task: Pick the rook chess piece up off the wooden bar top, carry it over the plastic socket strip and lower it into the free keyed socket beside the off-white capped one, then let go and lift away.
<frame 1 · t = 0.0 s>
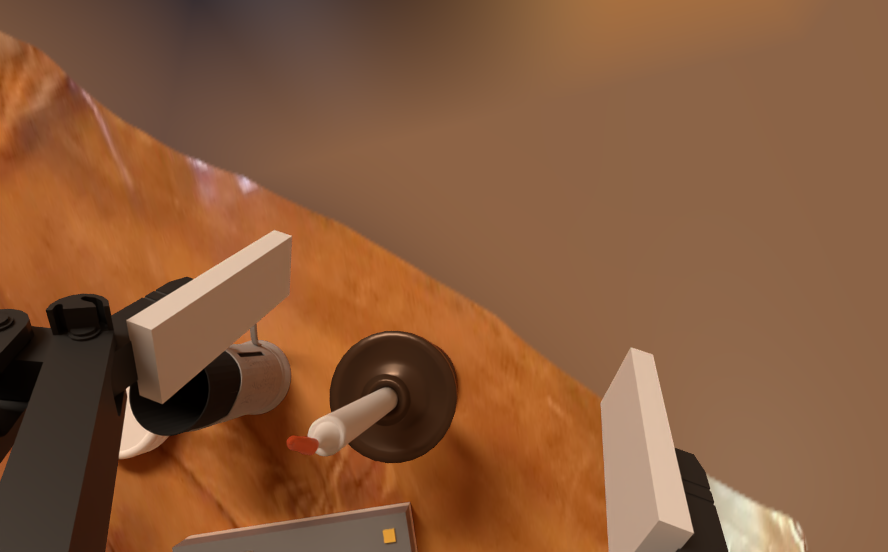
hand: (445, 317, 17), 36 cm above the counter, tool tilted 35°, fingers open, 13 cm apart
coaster: (143, 409, 55), on the counter
candlestick: (417, 380, 52), on the counter
glass holder: (264, 354, 54), on the counter
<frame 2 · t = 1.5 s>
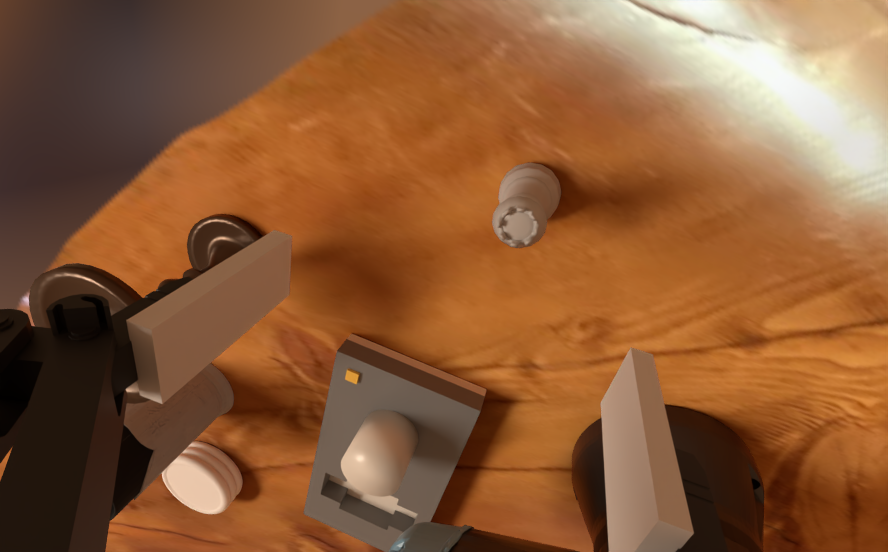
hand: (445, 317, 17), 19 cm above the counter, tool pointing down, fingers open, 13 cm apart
rook chess piece: (530, 190, 33), on the counter
socket strip: (389, 448, 49), on the counter
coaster: (213, 465, 61), on the counter
candlestick: (236, 258, 44), on the counter
glass holder: (184, 369, 53), on the counter
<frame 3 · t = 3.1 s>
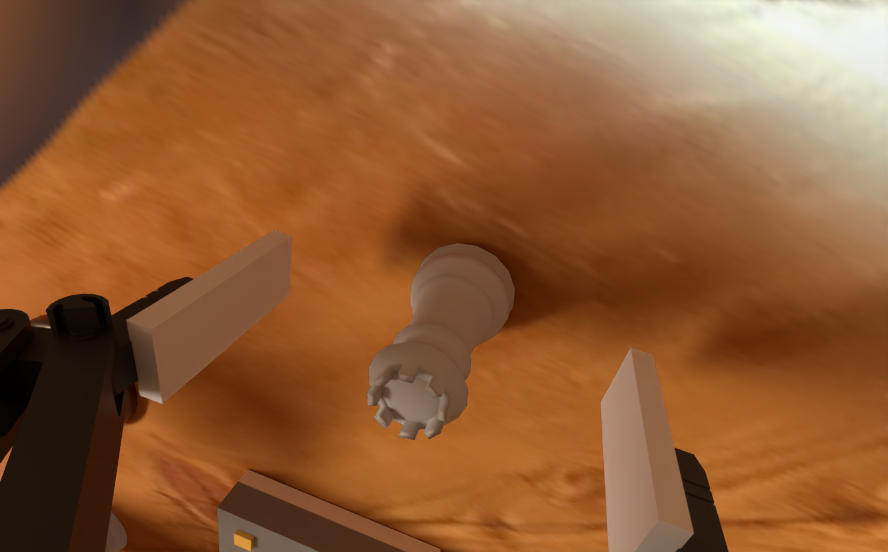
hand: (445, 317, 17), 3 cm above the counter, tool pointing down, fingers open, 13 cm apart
rook chess piece: (467, 283, 20), on the counter
candlestick: (83, 370, 31), on the counter
glass holder: (63, 496, 41), on the counter
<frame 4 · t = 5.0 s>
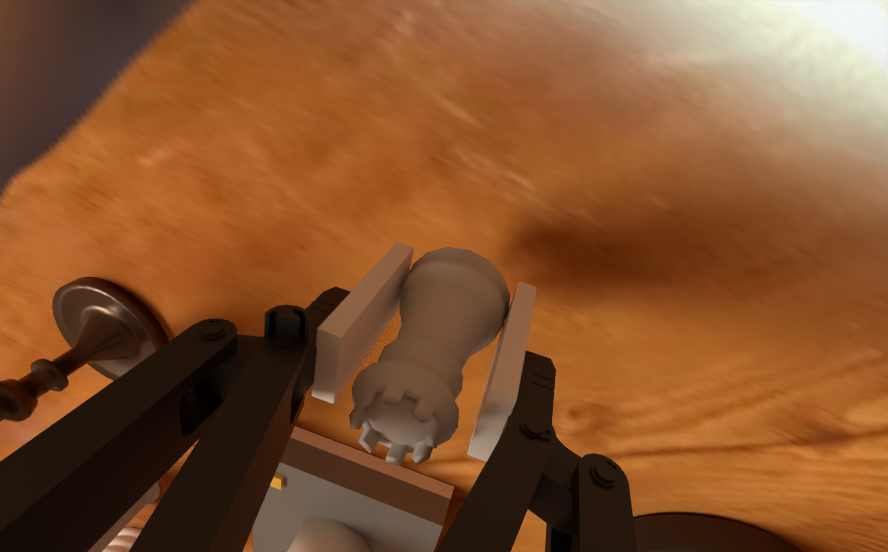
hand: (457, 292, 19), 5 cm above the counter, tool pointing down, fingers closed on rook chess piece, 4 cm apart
rook chess piece: (459, 289, 19), point 4 cm above the counter, touching gripper
socket strip: (346, 545, 39), on the counter
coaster: (157, 551, 52), on the counter
candlestick: (120, 329, 34), on the counter
glass holder: (98, 452, 44), on the counter
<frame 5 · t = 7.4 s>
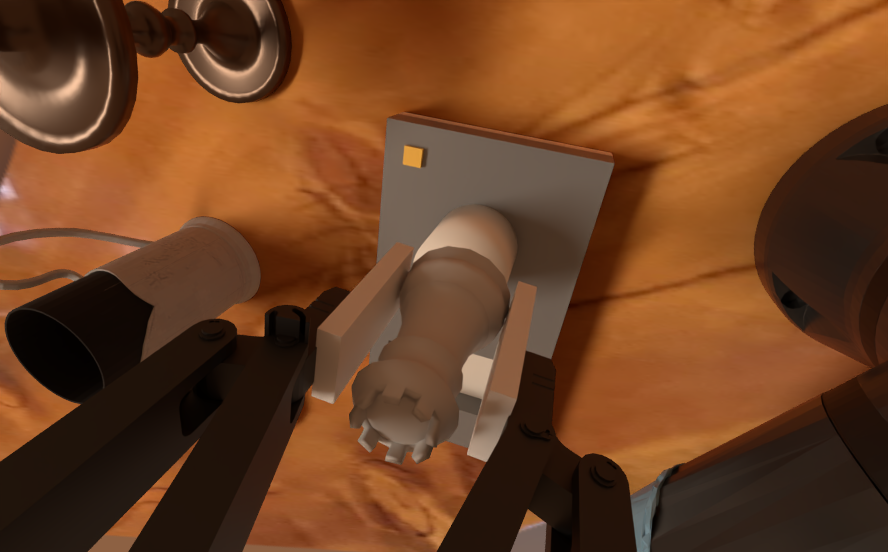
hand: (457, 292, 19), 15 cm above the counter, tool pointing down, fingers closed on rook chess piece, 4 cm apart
rook chess piece: (460, 288, 19), point 14 cm above the counter, touching gripper
socket strip: (470, 297, 36), on the counter
candlestick: (235, 33, 32), on the counter
glass holder: (195, 242, 42), on the counter
when the fingers open (3 cm above the counter, at t = 10.3 s): rook chess piece drops 2 cm, resting on socket strip.
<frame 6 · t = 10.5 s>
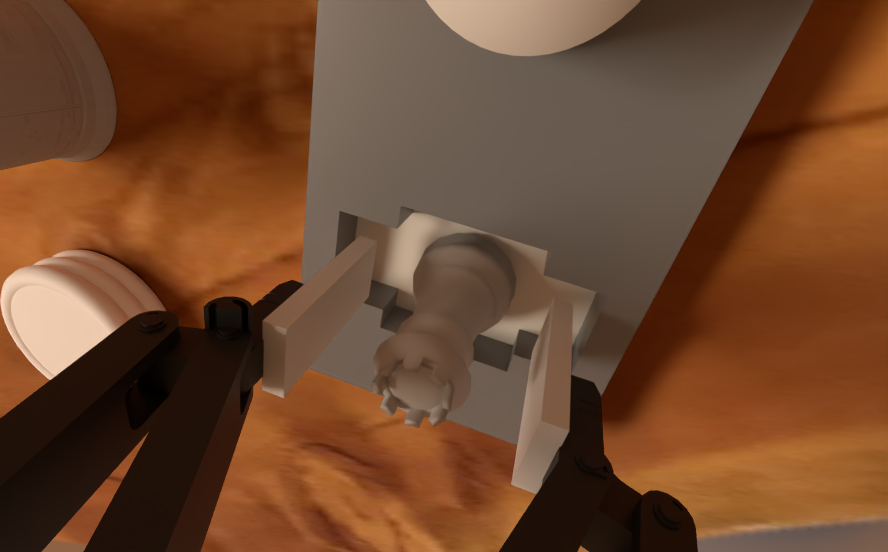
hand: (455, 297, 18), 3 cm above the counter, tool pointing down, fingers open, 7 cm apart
rook chess piece: (468, 272, 20), point 1 cm above the counter, touching socket strip
socket strip: (507, 135, 18), on the counter
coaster: (119, 313, 30), on the counter
glass holder: (0, 36, 23), on the counter
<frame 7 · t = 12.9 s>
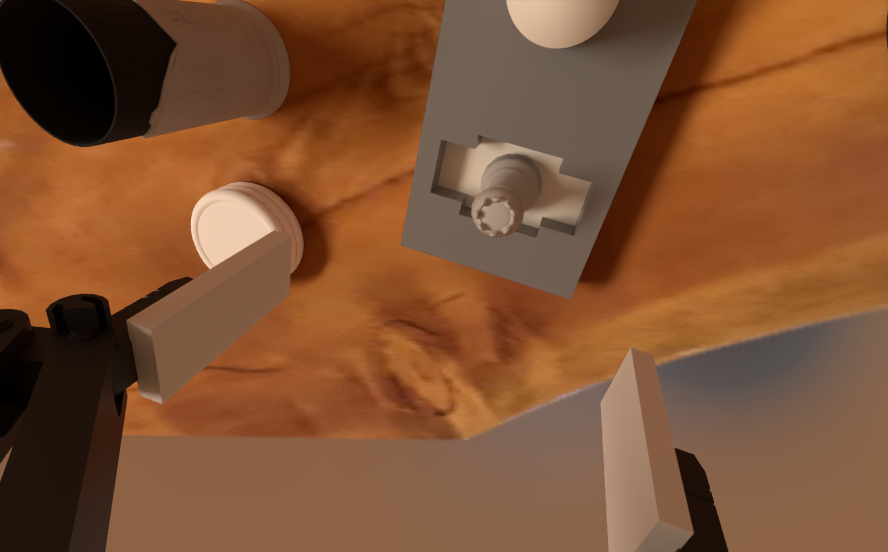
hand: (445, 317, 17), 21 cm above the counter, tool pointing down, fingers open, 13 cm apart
rook chess piece: (512, 181, 34), point 1 cm above the counter, touching socket strip
socket strip: (537, 96, 32), on the counter
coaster: (260, 230, 44), on the counter
glass holder: (215, 38, 36), on the counter
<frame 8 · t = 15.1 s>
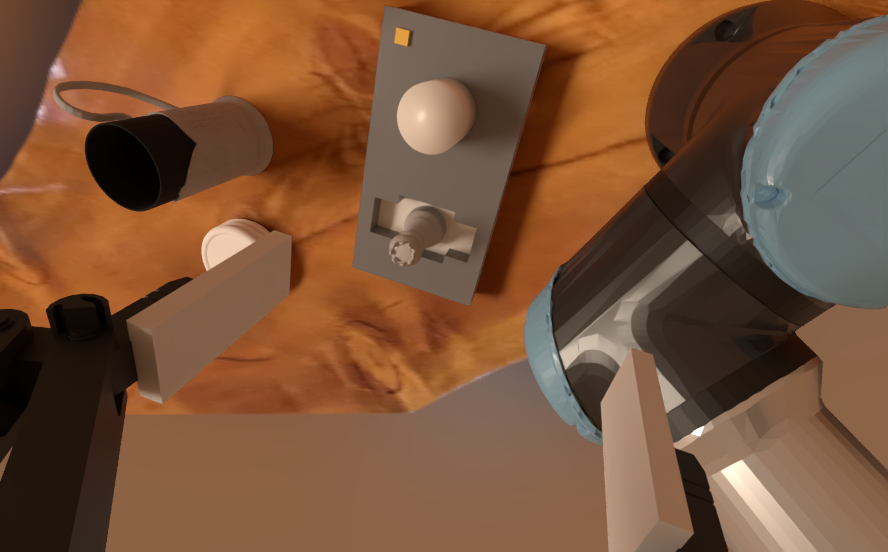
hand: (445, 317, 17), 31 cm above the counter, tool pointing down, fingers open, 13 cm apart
rook chess piece: (427, 223, 49), point 1 cm above the counter, touching socket strip
socket strip: (440, 167, 46), on the counter
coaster: (253, 253, 58), on the counter
glass holder: (220, 120, 51), on the counter
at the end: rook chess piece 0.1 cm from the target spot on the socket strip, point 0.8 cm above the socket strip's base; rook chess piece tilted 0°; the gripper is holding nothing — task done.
